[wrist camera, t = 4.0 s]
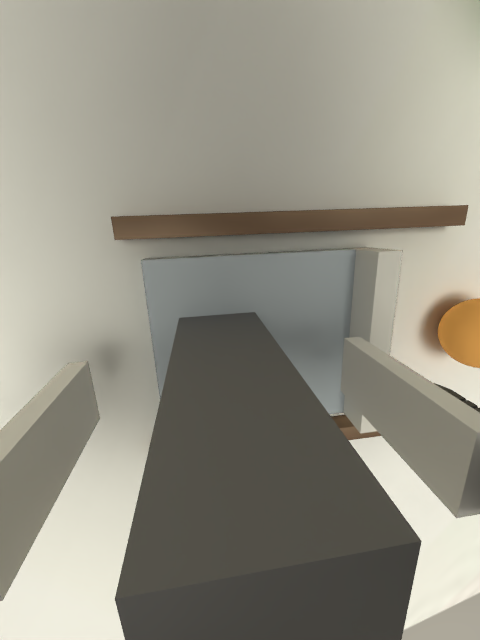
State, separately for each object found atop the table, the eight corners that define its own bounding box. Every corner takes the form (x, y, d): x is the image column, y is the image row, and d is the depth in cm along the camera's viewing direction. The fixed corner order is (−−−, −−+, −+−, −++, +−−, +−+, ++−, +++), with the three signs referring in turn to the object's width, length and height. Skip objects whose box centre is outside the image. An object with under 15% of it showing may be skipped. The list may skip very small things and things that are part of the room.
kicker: (144, 258, 15) (-139, 390, 2) (366, 247, 16) (911, 291, 4) (166, 423, 18) (93, 867, 5) (353, 401, 19) (635, 707, 7)
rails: (118, 218, 14) (110, 216, 13) (449, 207, 16) (468, 205, 15) (154, 452, 18) (151, 466, 17) (414, 418, 20) (427, 429, 19)
